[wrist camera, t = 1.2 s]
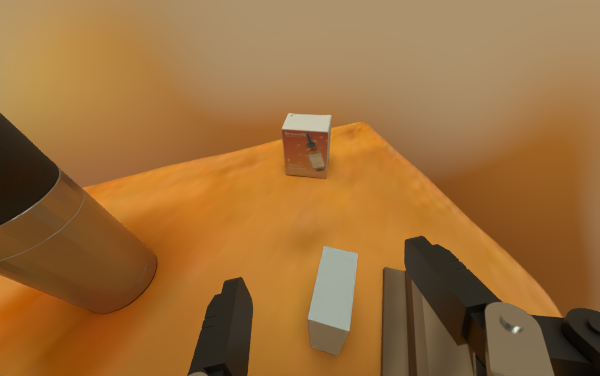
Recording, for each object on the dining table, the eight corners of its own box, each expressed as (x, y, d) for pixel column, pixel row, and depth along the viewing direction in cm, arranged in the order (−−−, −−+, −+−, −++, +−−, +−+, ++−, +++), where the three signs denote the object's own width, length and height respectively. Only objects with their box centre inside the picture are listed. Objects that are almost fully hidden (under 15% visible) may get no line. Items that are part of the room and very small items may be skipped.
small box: (285, 175, 44) (279, 129, 37) (291, 157, 48) (287, 112, 40) (326, 179, 43) (328, 131, 35) (329, 160, 47) (332, 114, 39)
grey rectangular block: (310, 347, 25) (307, 319, 16) (321, 292, 29) (323, 246, 20) (337, 356, 24) (349, 331, 16) (345, 298, 28) (357, 253, 19)
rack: (380, 409, 21) (388, 410, 19) (383, 269, 30) (389, 258, 28) (530, 463, 19) (561, 472, 16) (484, 292, 28) (500, 282, 25)
